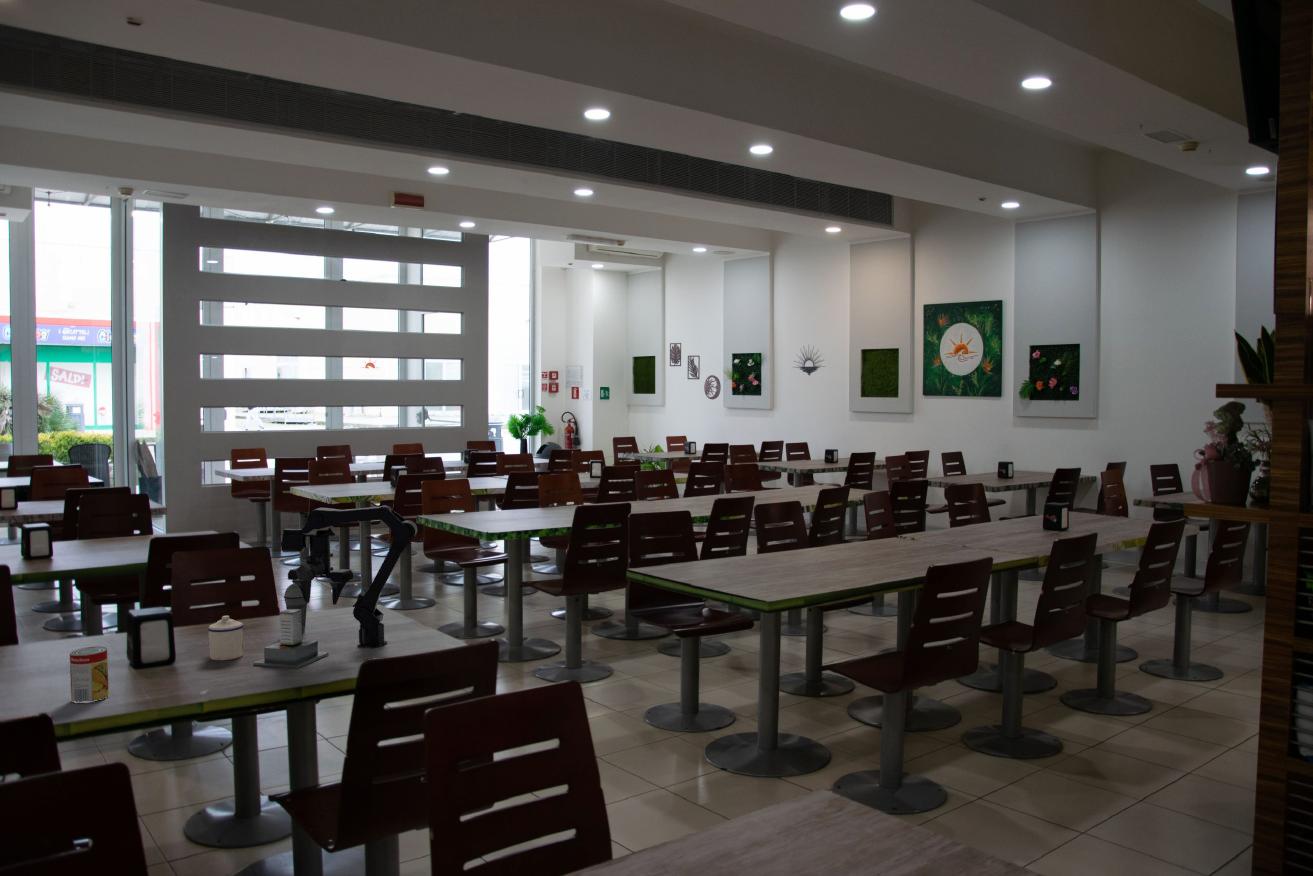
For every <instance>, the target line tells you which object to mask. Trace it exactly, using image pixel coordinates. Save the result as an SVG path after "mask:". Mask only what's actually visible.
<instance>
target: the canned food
mask: <svg viewBox="0 0 1313 876" xmlns="http://www.w3.org/2000/svg"><path fill="white" fill-rule="evenodd" d="M108 657H109V656H108V647H107V646H97V645H96V646H89V647H88V646H87V647H80V648H77V649H74V650H71V651H70V652H69V668H70V669H69V670H70V671H69V673H70V698H71V699H70V701H71V700H72V701H76V702H78V701H79V702H82V701H94V700H99V699H103V698H105V697H107V696H108V695H109V694H110V692H109V673H108V672H109V667H108V666H109V665H108V664H109V663H108V662H109V660H108V659H109V658H108Z"/></svg>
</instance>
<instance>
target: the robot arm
mask: <svg viewBox="0 0 1313 876" xmlns="http://www.w3.org/2000/svg"><path fill="white" fill-rule="evenodd" d="M306 518H307V522H306V523H305V525H303V526H302V528H297V529H296V528H284V529H283V530H282V532H283V533H282V536H281V541H280V547H281V552H282V553H296V552H297V553H298V552H299V553H301V552H303V553H304V551H305V549H308V546H309V555H306V558H305V562H304V563H302V564H301V565H300V566H298V567H295V568H293V569H292V568H291V569H289V570H288V573H287V580H289V581H291V583H292V584H293V583H295V584H297V585H298V586H299V588H300V590H301V592H302V595H303V597H304V599H305V602H306V603H307V604H309V603H310V599H311V592H312V591H311V590H312V581H313V580H314V579H315V578H316V579H317V578H318V579H330V581H331V582H329V585H330V587H331V589H332V590H331V592H332V595H331V597H332V598H331V599H332V605H333V606H334V605H337V604H338V601H339V598H340V596H341V594H342V592H343V590H344V588H345V586H346V585H347V583H349V582H350V581H351V580H353V579H354V572H353V571H352V569H342V568H340V569H337V570H334V566H331V558H333V557H334V553H333V552H332V553H331V537H334V536H336V535H337V534H338V532H337V531H336V530H334V529H333V526H337V525H340V524H345V523H357V522H368V521H369V522H371V521H382V522H383V523H384V525H386V526H387V527H388V528H389V529H390V530H391V531H392V532H394V534H393V538H392V540H391V545H390V548H389V550H388V552H387V555H386V556H385V557H384V558H383V559H384V560H383V561H382V564H381V565H380V567H379V569H378V570H377V573H376V575H375V576H374V578H373V580H372V583H371V584H370V587H369V588H368V589H367V591H366V592H365V591H364V590H361V591H360V593H359V594H358V596H357V599H356V601H355V602H354V603H353V605H352V607H353V611H352V614H353V618H355V620H357V622H359V624H360V625H359V630H358V643H357V645H356V646H357V647H358V648H371V649H372V648H373V649H376V648H379V647H381V646H383V645H386V644H387V643H388V641H387V640H385V623H383V622H382V620H383V617H384V613H383V612H382V611H381V610H379V609H378V608H377V607H378V605H379V604H378V603H379V601H380V597H381V593H382V592H383V589H384V587H385V586H386V584H387V581H388V580H389V578H390V577H391V575H392V572H393V570H394V569H395V567H396V565H397V564H398V561H399V559H400V557H401V556H402V554H403V552H404V550H405V549H406V548H407V547H408V546H409V544H410V543H411V542H412V540H413V539H414V538H415V537H416V535H417V533H418V527H417V524H416V522H414V521H413V520H409V519H408V520H407V519H405V517H403V516H402V515H400V514H399V513H398V512H396V511H394V510H393V509H392V508H391V507H390V506H389V505H382V506H371V507H363V508H361V507H359V508H350V509H338V508H337V509H336V508H329V507H319V508H315V509H314V510H312V511H310V512H309V514H308V515H307V517H306ZM325 528H328V529H325ZM314 530H316V532H314V533H313V532H312V531H314ZM311 532H312V533H311Z"/></svg>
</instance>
